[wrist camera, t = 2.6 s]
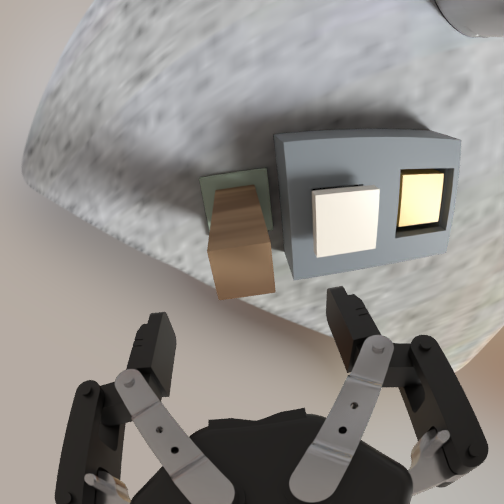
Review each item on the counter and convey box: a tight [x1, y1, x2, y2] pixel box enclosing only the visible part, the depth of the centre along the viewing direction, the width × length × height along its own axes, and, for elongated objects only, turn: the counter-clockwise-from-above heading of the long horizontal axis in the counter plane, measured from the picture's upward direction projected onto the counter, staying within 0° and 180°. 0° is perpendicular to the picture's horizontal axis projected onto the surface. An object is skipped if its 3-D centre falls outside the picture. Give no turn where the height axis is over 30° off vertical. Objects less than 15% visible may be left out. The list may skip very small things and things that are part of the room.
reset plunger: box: [396, 168, 444, 227], centre depth 24 cm, size 5×5×2 cm
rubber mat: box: [199, 168, 273, 231], centre depth 27 cm, size 6×6×1 cm
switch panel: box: [274, 129, 461, 280], centre depth 25 cm, size 12×17×5 cm
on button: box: [312, 185, 380, 258], centre depth 22 cm, size 5×5×4 cm
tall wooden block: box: [207, 185, 275, 300], centre depth 22 cm, size 4×4×11 cm
